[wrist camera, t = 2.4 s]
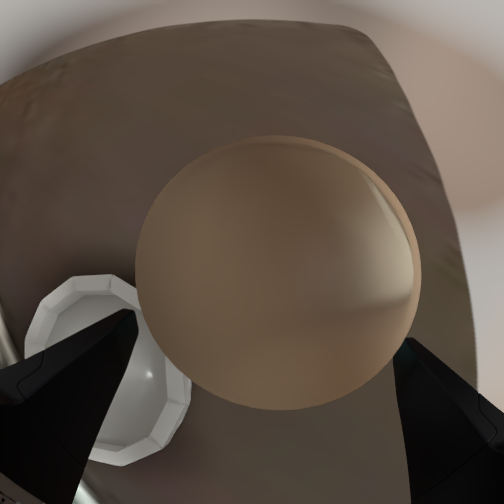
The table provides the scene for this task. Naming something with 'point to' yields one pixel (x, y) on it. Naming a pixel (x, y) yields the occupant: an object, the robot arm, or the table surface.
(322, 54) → the table surface
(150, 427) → the ceramic dish
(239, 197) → the disc
